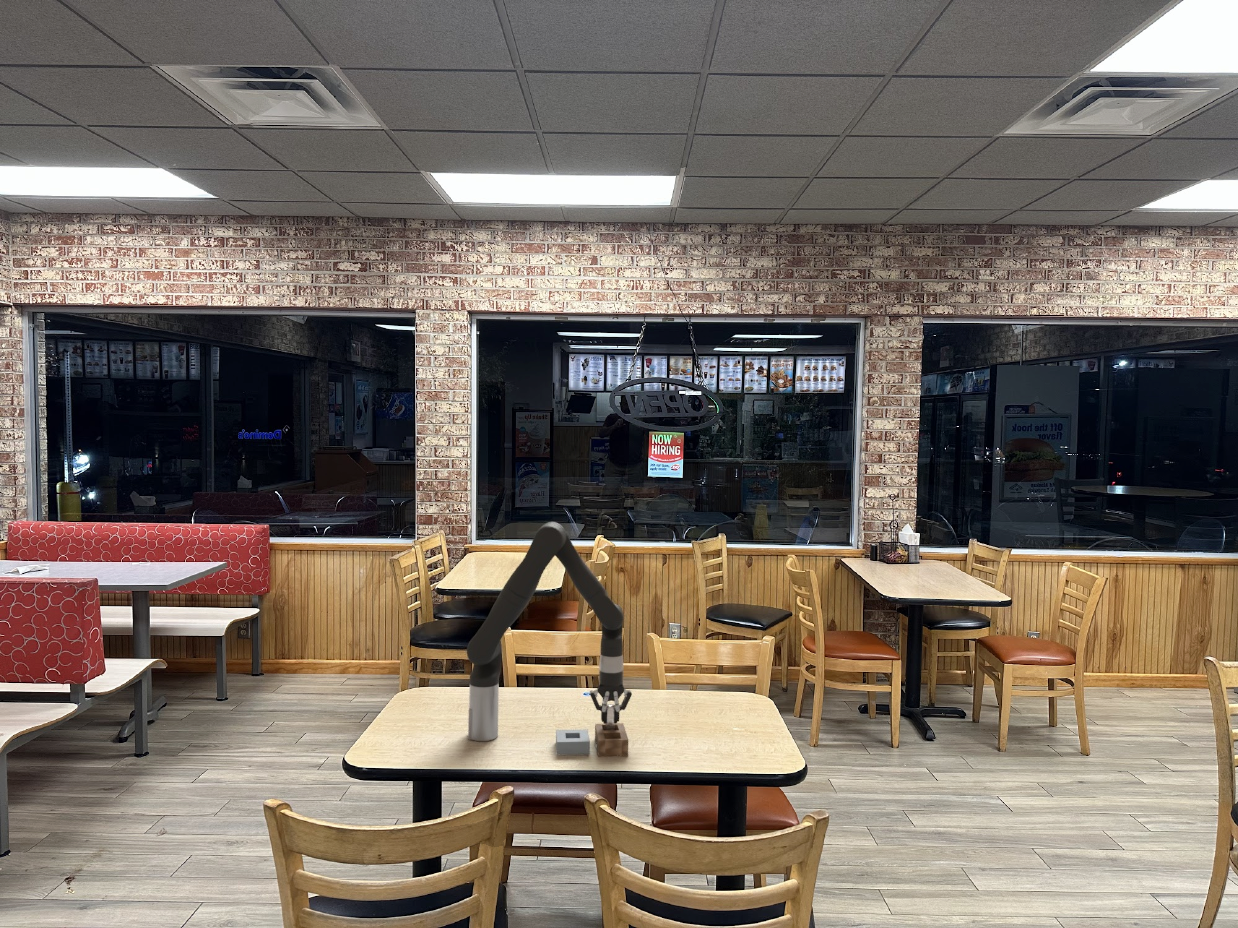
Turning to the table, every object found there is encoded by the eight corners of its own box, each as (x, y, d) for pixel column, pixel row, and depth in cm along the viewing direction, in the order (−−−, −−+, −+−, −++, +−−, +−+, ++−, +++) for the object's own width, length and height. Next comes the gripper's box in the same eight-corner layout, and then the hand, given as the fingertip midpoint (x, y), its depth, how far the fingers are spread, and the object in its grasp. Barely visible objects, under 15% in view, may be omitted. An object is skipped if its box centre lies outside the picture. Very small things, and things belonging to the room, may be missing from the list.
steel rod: (605, 738, 246) (606, 707, 246) (604, 735, 249) (605, 704, 249) (615, 738, 246) (615, 707, 246) (614, 734, 249) (614, 703, 249)
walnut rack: (598, 756, 237) (598, 740, 237) (594, 739, 251) (595, 723, 251) (628, 755, 238) (628, 739, 238) (622, 738, 252) (623, 722, 252)
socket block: (556, 754, 238) (557, 741, 238) (555, 742, 248) (556, 729, 247) (589, 754, 239) (589, 741, 239) (587, 741, 249) (587, 729, 249)
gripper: (589, 672, 243) (588, 727, 243) (634, 671, 244) (633, 726, 245) (588, 665, 250) (587, 718, 251) (631, 664, 252) (630, 717, 252)
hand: (610, 722), depth 248 cm, fingers closed on steel rod, 3 cm apart
